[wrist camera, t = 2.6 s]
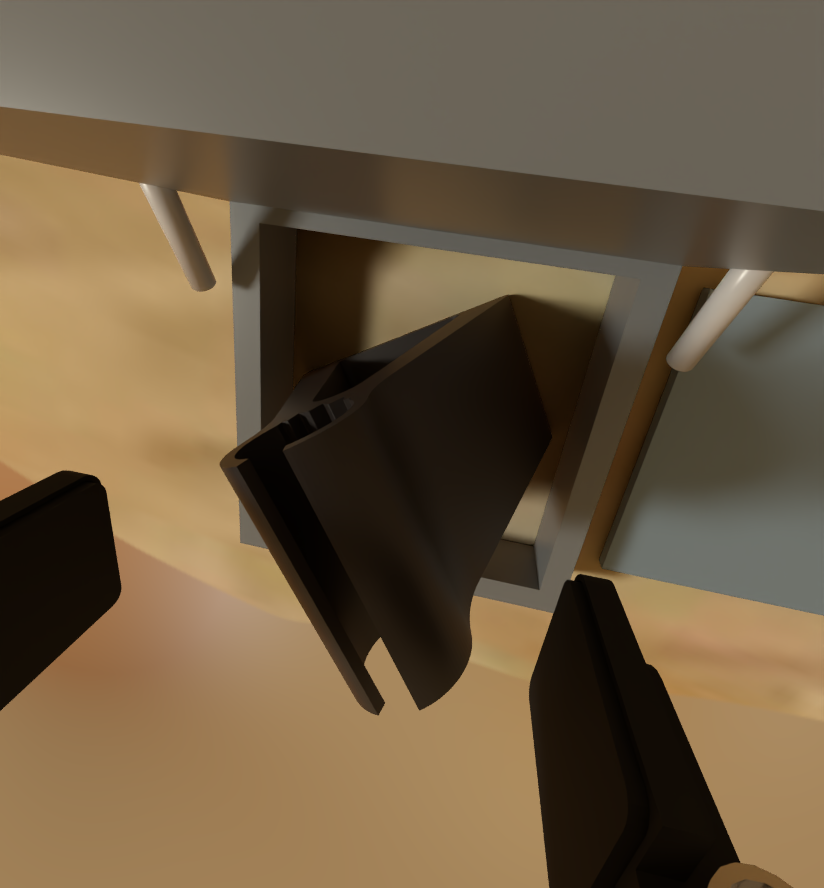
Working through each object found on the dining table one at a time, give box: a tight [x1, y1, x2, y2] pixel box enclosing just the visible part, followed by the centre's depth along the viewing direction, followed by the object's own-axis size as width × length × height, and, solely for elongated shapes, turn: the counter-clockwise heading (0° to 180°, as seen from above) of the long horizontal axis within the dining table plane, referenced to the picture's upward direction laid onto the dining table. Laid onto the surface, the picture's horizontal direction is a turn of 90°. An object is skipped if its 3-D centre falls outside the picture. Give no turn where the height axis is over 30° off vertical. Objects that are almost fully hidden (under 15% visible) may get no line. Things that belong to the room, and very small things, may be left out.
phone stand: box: [220, 295, 552, 715], centre depth 14 cm, size 9×6×12 cm, turn 112°
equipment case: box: [0, 0, 824, 613], centre depth 12 cm, size 16×15×15 cm
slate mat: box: [599, 288, 824, 616], centre depth 17 cm, size 10×12×1 cm
